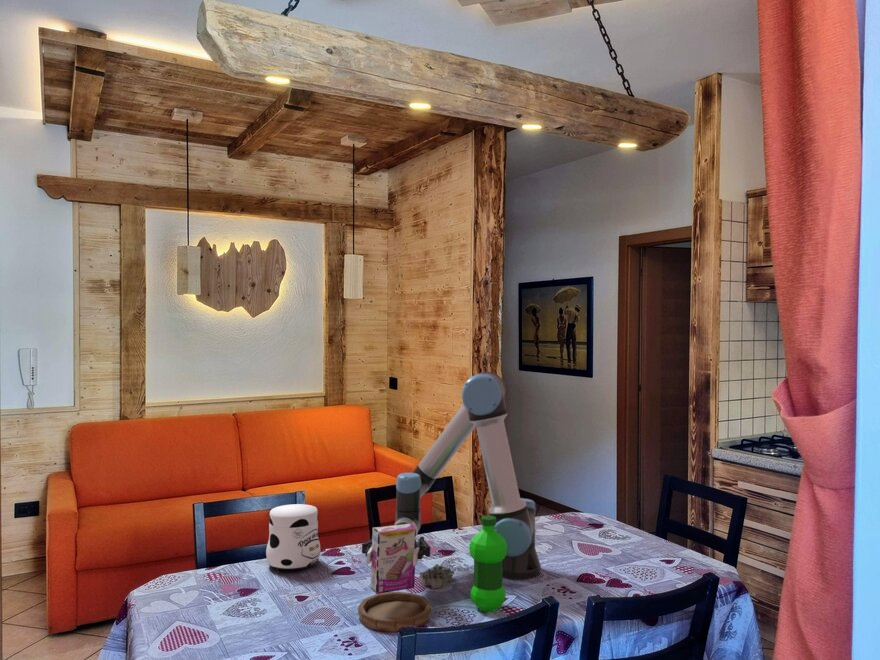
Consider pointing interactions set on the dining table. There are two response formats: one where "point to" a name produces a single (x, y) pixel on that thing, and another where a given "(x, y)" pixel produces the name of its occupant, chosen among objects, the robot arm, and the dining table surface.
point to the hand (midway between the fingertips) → (391, 559)
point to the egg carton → (441, 576)
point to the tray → (394, 611)
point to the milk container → (293, 537)
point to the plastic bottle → (488, 566)
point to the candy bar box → (393, 558)
